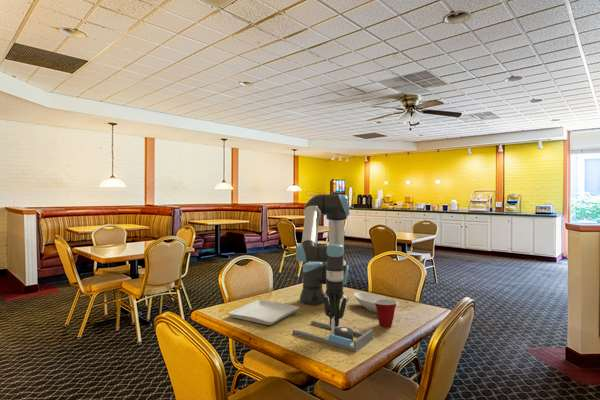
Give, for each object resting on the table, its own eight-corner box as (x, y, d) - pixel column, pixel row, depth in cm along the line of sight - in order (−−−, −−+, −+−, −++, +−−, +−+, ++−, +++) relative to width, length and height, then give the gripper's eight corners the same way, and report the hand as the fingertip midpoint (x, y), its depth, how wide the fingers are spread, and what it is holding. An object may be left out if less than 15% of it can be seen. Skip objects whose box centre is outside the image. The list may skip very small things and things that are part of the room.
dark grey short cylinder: (330, 340, 151) (331, 329, 151) (340, 334, 157) (340, 324, 157) (347, 344, 146) (347, 334, 146) (356, 338, 153) (356, 328, 153)
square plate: (258, 305, 201) (258, 298, 201) (300, 313, 187) (300, 306, 187) (226, 319, 177) (226, 311, 177) (271, 329, 164) (271, 321, 164)
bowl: (405, 315, 185) (405, 303, 185) (385, 320, 177) (385, 308, 177) (365, 301, 210) (365, 290, 210) (346, 304, 202) (346, 294, 202)
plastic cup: (388, 320, 176) (388, 296, 176) (401, 328, 166) (401, 302, 166) (369, 323, 172) (369, 298, 172) (382, 330, 162) (382, 305, 162)
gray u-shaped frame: (292, 333, 158) (292, 324, 158) (312, 323, 171) (312, 315, 171) (355, 352, 139) (355, 342, 139) (372, 339, 152) (373, 329, 152)
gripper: (317, 279, 155) (317, 332, 155) (343, 283, 148) (343, 339, 148) (326, 276, 161) (326, 327, 161) (352, 280, 154) (351, 334, 154)
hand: (334, 333), depth 154 cm, fingers closed
